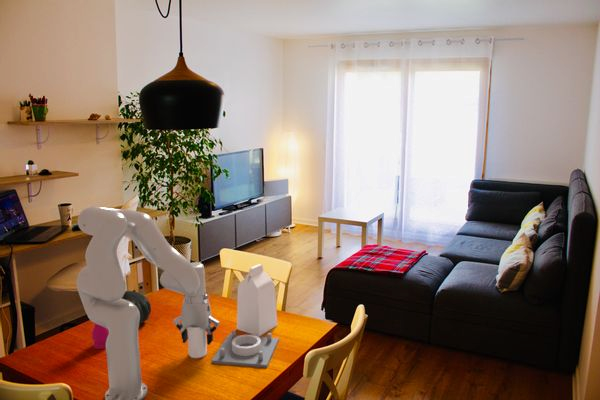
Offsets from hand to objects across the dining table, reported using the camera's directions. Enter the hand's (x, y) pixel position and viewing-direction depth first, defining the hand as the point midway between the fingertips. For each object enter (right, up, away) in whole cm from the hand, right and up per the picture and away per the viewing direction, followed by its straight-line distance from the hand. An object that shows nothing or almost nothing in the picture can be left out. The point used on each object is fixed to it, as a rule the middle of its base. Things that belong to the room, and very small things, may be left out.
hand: (197, 342), depth 182 cm
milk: (+20, -1, +23) cm, 30 cm away
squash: (-32, 0, +27) cm, 42 cm away
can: (0, -5, +1) cm, 5 cm away
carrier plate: (+18, -4, +3) cm, 18 cm away
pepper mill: (-37, -4, +8) cm, 38 cm away
